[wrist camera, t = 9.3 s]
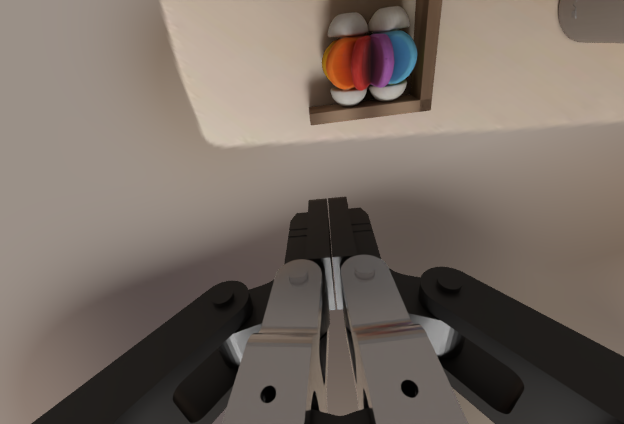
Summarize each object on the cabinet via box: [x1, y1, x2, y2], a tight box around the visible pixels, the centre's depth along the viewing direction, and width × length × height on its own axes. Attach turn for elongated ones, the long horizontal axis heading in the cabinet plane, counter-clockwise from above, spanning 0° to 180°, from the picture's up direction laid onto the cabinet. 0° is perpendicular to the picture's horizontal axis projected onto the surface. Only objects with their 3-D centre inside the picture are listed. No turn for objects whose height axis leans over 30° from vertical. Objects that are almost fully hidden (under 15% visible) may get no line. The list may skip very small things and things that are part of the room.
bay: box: [309, 0, 442, 125], centre depth 28 cm, size 13×14×4 cm
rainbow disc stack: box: [322, 6, 417, 106], centre depth 27 cm, size 8×10×7 cm
